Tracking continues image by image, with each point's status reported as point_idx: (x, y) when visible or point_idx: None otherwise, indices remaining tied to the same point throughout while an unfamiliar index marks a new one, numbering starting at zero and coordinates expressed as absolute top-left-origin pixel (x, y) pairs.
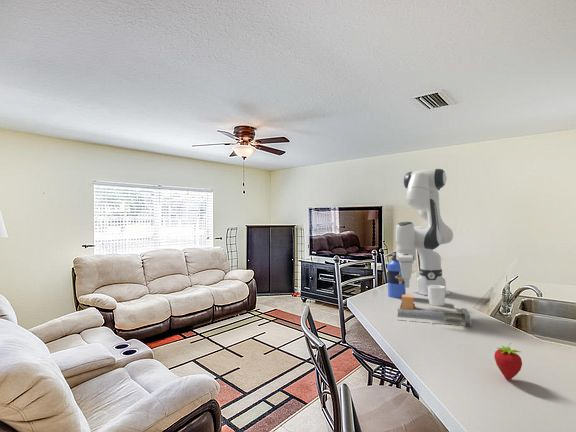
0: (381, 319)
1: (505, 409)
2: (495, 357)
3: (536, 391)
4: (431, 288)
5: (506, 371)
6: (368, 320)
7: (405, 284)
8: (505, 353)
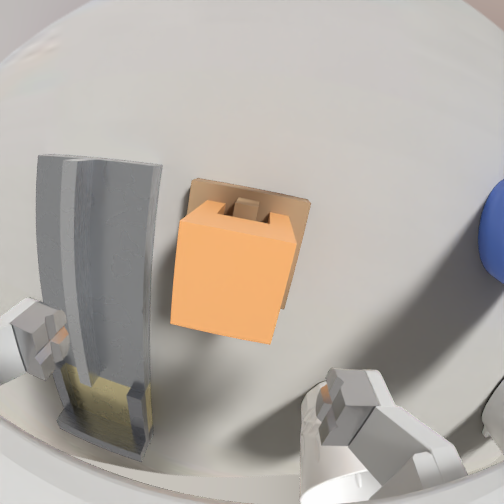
0: (58, 74)
1: None
2: None
3: None
4: (323, 476)
5: None
6: (50, 24)
7: (7, 317)
8: None
